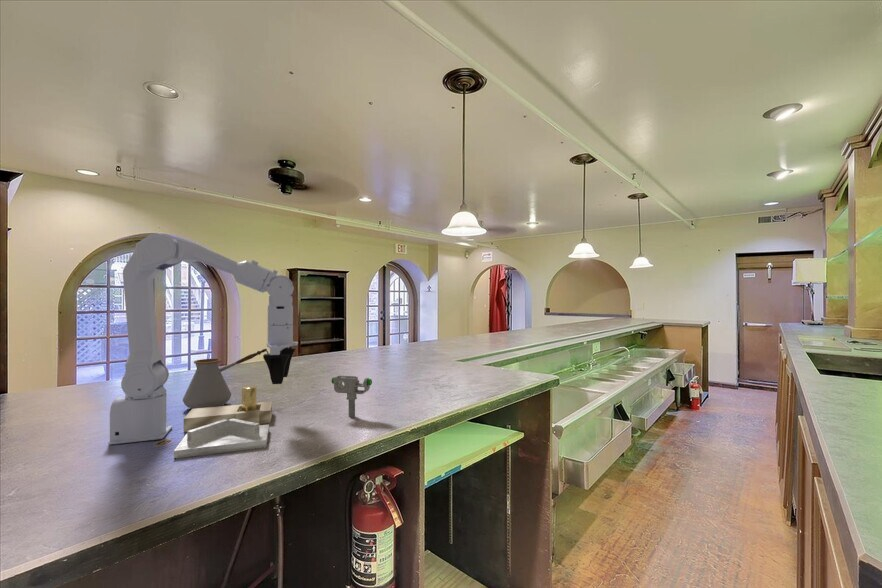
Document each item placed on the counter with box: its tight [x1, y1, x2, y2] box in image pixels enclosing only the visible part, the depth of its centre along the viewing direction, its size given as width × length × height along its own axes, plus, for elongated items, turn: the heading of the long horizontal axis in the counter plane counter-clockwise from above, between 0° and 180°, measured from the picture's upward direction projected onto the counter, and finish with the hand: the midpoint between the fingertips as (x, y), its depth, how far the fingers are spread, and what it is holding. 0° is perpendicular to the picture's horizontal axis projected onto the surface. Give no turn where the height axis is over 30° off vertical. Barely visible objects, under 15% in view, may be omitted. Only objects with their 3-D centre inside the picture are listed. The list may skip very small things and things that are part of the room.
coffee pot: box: [182, 348, 270, 411], centre depth 111 cm, size 21×12×15 cm, turn 123°
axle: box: [241, 385, 258, 411], centre depth 97 cm, size 3×3×8 cm
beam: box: [183, 401, 273, 433], centre depth 96 cm, size 18×8×3 cm, turn 111°
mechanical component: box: [331, 375, 373, 418], centre depth 100 cm, size 3×10×10 cm, turn 79°
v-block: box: [173, 419, 270, 459], centre depth 82 cm, size 16×10×4 cm, turn 110°
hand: (280, 380), depth 96 cm, fingers open, 7 cm apart
